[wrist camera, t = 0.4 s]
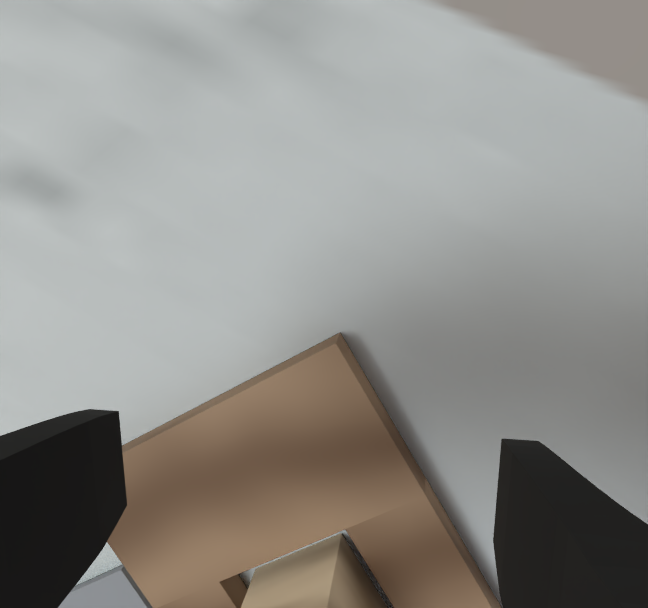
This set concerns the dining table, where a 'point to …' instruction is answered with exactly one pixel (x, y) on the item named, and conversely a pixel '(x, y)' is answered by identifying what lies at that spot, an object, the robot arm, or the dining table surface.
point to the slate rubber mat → (107, 592)
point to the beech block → (314, 580)
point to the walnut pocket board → (287, 492)
